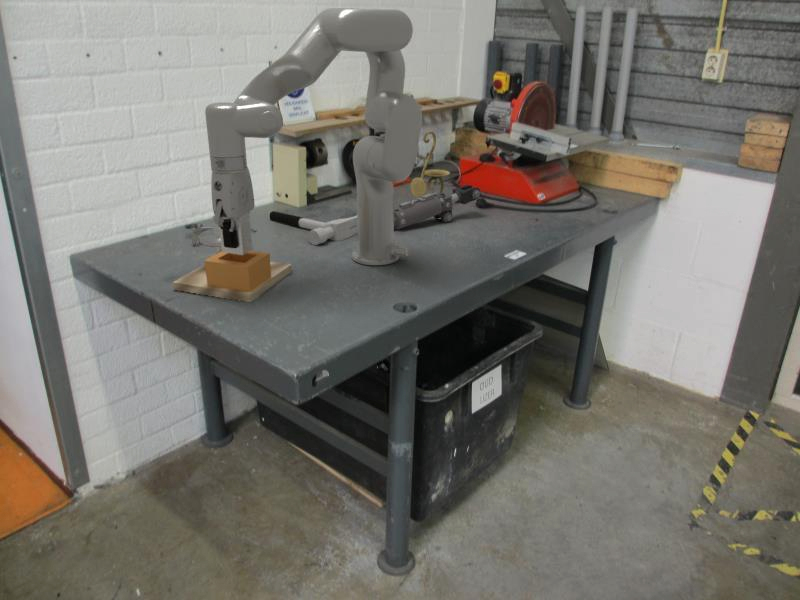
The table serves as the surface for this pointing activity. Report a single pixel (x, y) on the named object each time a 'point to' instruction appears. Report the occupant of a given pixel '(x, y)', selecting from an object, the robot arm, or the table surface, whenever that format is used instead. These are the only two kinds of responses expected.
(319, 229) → the claw hammer
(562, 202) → the table surface
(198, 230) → the grey small pieces
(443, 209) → the hydraulic cylinder
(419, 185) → the wall sconce
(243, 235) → the grey upright block
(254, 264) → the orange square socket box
